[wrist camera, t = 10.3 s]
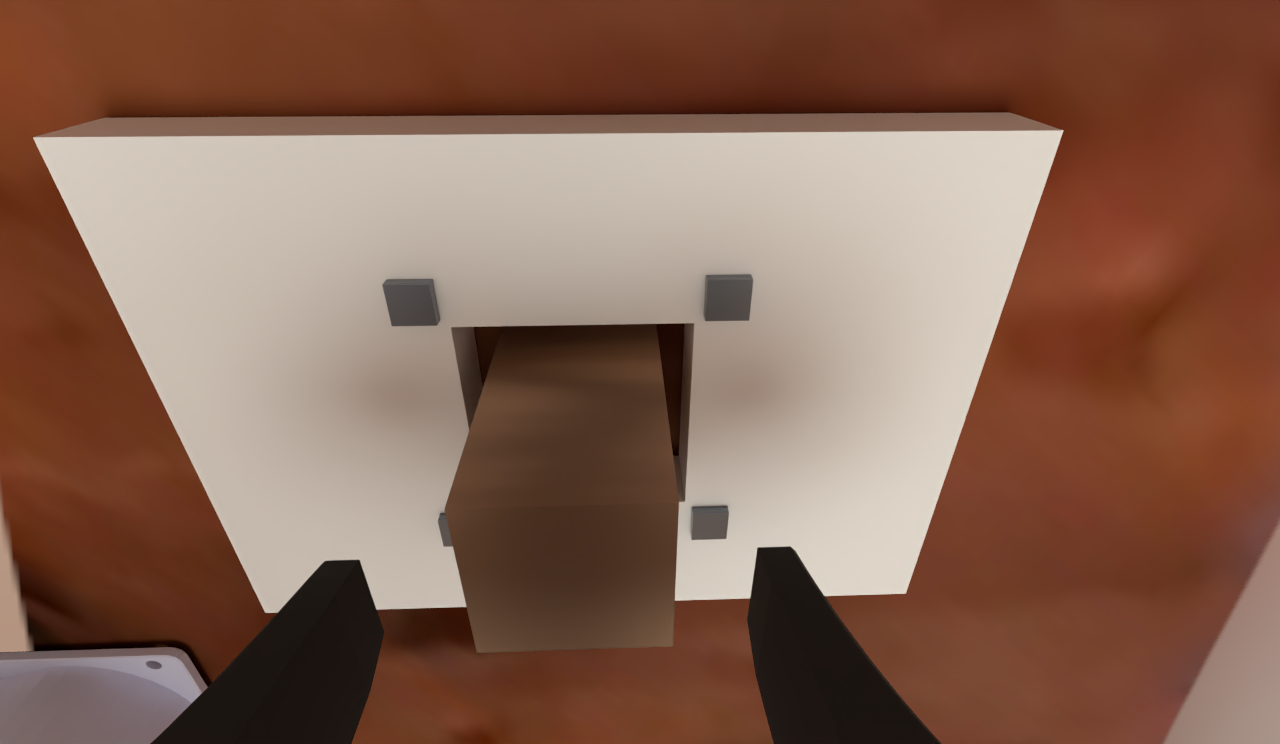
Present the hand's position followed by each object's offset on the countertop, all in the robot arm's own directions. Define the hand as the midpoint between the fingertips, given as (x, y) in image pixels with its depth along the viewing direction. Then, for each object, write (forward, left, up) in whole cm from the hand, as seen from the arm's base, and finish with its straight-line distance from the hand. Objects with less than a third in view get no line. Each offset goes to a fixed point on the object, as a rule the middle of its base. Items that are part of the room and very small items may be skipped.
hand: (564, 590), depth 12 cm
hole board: (0, 0, -7) cm, 7 cm away
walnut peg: (0, 0, -7) cm, 7 cm away
